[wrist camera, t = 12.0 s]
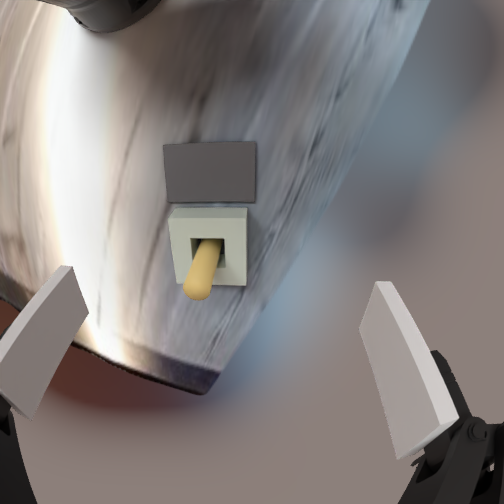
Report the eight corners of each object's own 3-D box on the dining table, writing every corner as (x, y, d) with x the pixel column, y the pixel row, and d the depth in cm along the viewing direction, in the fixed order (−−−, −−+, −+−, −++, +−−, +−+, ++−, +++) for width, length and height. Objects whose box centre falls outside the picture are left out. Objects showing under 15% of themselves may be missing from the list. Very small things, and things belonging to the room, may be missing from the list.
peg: (203, 249, 41) (184, 299, 30) (201, 230, 39) (181, 277, 29) (223, 249, 41) (211, 300, 30) (222, 231, 39) (209, 278, 29)
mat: (168, 201, 37) (167, 202, 37) (164, 145, 33) (163, 145, 33) (254, 200, 37) (254, 201, 37) (255, 141, 33) (255, 142, 33)
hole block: (183, 268, 43) (177, 283, 39) (176, 207, 38) (167, 218, 34) (247, 270, 42) (246, 285, 39) (247, 207, 38) (246, 218, 34)
